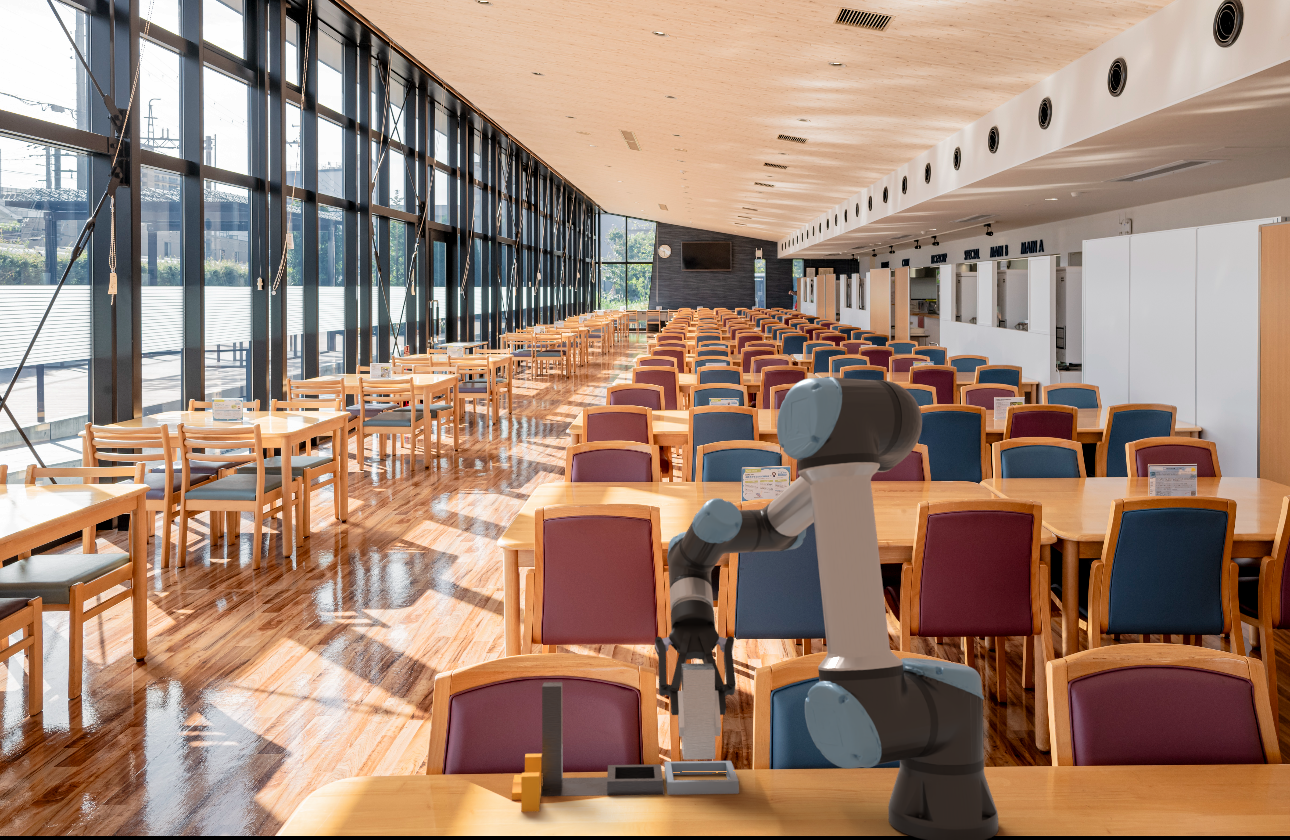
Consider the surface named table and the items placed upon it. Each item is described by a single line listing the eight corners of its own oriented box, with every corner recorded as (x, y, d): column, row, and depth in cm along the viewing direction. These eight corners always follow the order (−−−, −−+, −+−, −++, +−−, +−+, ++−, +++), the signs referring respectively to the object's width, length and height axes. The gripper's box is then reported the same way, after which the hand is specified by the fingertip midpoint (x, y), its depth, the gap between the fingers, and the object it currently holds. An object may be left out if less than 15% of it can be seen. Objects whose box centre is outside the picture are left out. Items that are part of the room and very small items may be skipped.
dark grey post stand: (662, 783, 165) (661, 677, 166) (664, 802, 156) (663, 689, 157) (545, 785, 164) (545, 678, 165) (540, 804, 155) (540, 690, 156)
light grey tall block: (712, 750, 165) (711, 663, 165) (715, 759, 160) (714, 669, 160) (681, 750, 165) (681, 663, 165) (683, 759, 160) (683, 669, 160)
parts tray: (731, 779, 167) (731, 760, 167) (738, 801, 156) (738, 781, 156) (664, 780, 167) (664, 761, 167) (667, 802, 156) (667, 782, 156)
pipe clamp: (514, 795, 160) (514, 754, 161) (541, 794, 161) (541, 753, 161) (509, 821, 148) (509, 777, 149) (539, 820, 149) (539, 776, 149)
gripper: (742, 623, 179) (755, 743, 161) (639, 624, 178) (642, 744, 161) (745, 597, 173) (759, 718, 156) (640, 597, 173) (642, 719, 156)
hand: (700, 731), depth 159 cm, fingers closed on light grey tall block, 5 cm apart
